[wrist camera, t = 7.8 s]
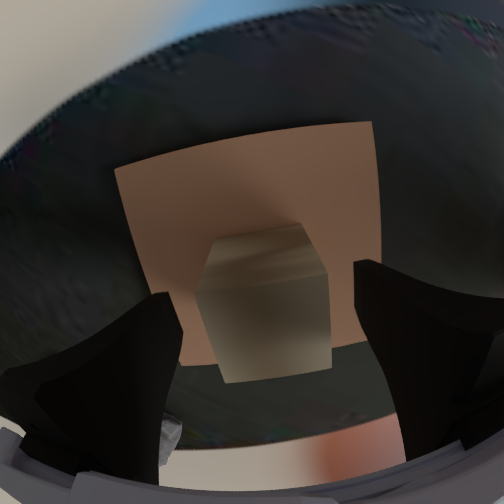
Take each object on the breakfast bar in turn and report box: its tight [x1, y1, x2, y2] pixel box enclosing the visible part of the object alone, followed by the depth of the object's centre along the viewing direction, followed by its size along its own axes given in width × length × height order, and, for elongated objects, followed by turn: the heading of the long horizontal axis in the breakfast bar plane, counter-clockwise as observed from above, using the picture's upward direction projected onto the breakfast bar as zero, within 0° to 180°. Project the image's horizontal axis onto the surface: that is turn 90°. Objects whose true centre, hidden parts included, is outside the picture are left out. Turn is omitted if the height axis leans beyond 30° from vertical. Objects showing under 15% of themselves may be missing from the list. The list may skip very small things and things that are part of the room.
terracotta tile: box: [114, 121, 381, 366], centre depth 14 cm, size 12×12×2 cm
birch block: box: [194, 224, 332, 383], centre depth 11 cm, size 4×4×5 cm
